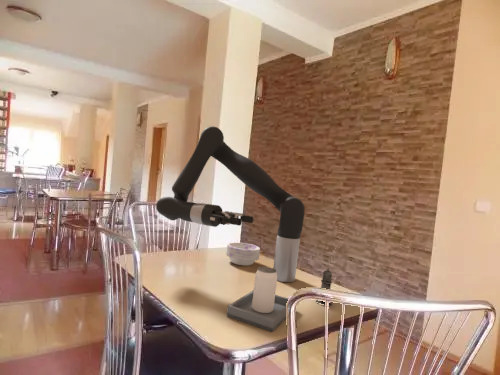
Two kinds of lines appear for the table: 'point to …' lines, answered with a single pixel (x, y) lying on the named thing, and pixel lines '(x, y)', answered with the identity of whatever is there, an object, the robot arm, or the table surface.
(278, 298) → the tray
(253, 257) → the paper bowls
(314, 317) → the table surface
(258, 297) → the can
